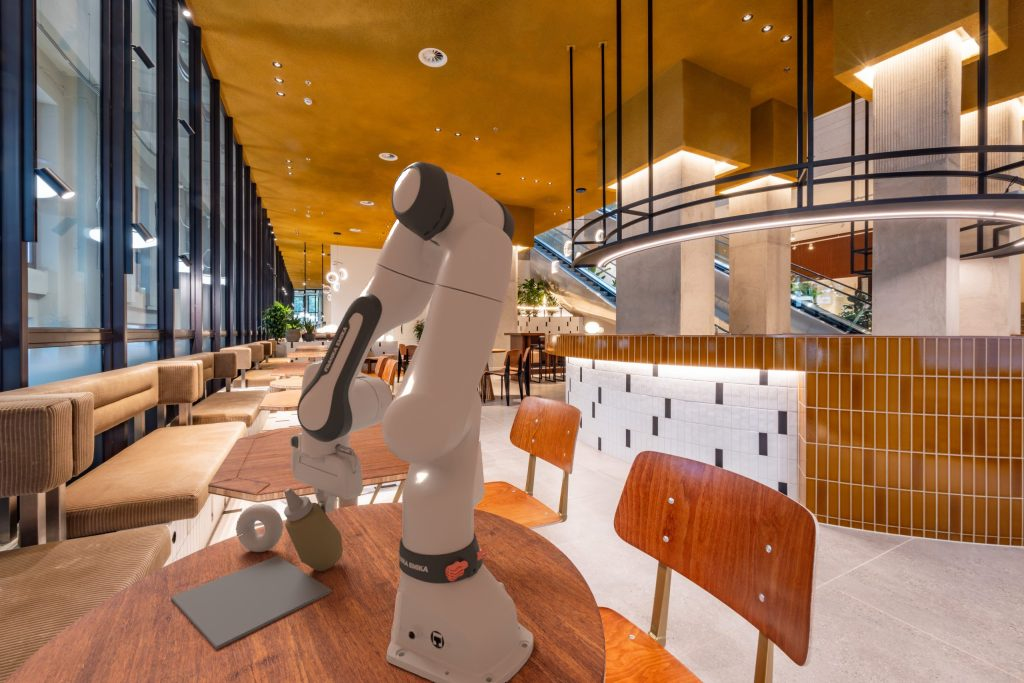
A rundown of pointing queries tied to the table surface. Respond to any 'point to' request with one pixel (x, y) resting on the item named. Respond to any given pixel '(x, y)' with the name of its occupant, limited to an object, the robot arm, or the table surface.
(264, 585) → the mat
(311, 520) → the squeeze bottle
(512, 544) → the table surface
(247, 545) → the donut
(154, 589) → the table surface
